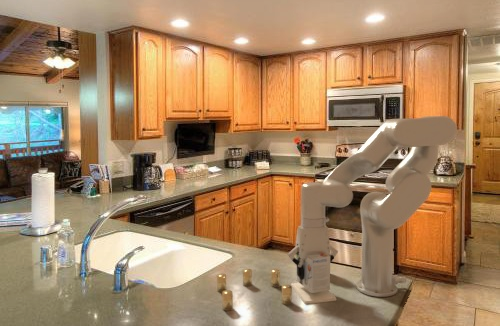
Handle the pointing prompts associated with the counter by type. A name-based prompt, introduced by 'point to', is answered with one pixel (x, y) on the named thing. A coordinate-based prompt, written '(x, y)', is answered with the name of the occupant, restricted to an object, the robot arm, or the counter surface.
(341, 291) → the counter surface
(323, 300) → the plate
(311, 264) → the light bulb box
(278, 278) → the brass cylinders
